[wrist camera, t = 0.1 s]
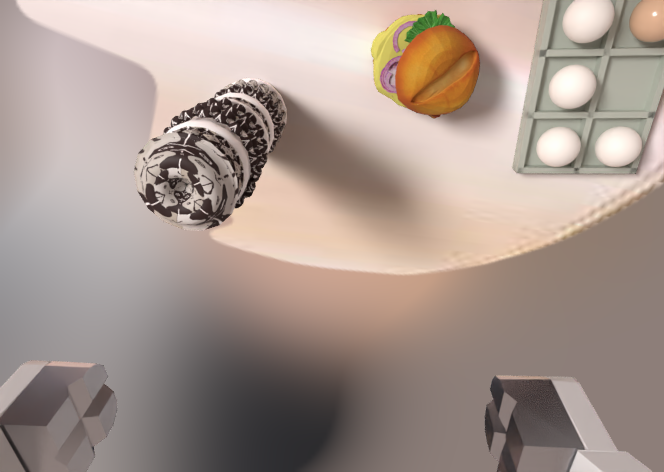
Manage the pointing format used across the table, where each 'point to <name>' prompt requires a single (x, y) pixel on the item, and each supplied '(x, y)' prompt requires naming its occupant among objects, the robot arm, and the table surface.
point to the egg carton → (588, 91)
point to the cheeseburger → (425, 64)
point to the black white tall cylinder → (211, 155)
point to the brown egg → (648, 21)
